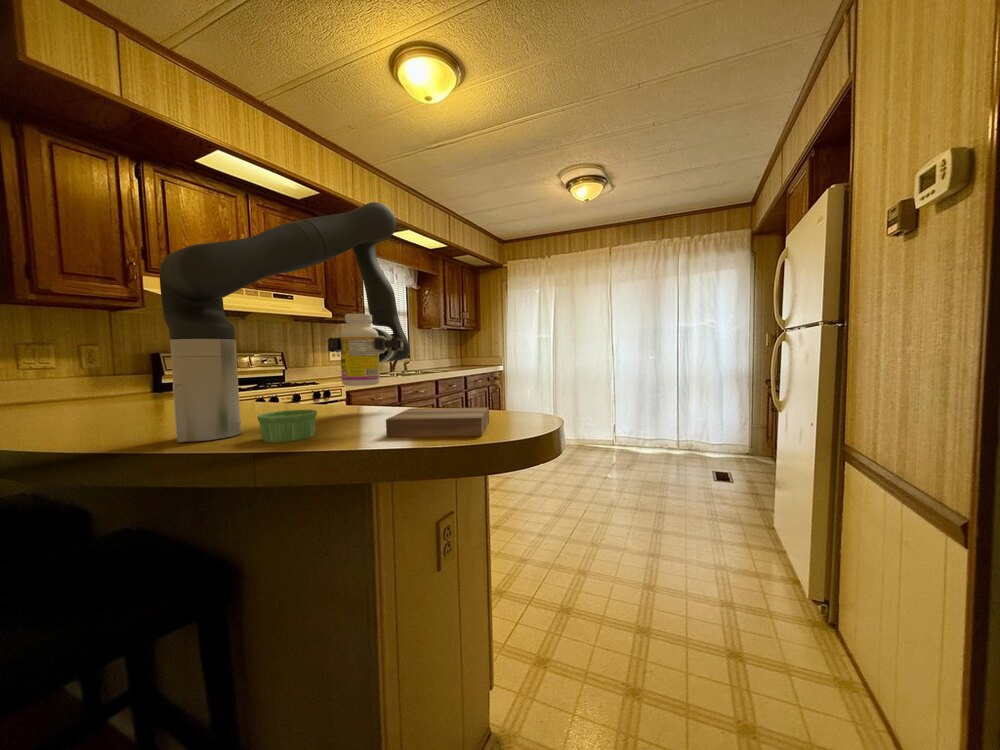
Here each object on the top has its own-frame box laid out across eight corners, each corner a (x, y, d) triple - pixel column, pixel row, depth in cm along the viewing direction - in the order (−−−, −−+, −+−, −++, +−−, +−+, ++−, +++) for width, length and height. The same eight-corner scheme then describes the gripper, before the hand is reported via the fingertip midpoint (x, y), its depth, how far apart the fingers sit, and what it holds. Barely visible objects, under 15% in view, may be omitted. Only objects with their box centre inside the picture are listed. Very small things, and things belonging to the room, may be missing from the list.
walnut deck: (481, 436, 64) (481, 418, 64) (386, 437, 65) (385, 419, 65) (489, 422, 77) (488, 407, 77) (409, 423, 78) (409, 408, 78)
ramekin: (247, 445, 63) (245, 418, 62) (274, 434, 72) (273, 410, 71) (305, 442, 63) (304, 416, 63) (325, 432, 72) (324, 408, 72)
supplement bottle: (345, 384, 75) (343, 316, 74) (381, 383, 76) (379, 316, 76) (338, 386, 69) (335, 312, 68) (377, 385, 70) (375, 313, 69)
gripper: (341, 329, 85) (313, 322, 69) (408, 328, 87) (397, 322, 70) (342, 363, 86) (315, 365, 69) (409, 362, 87) (398, 363, 71)
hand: (356, 343), depth 70 cm, fingers closed on supplement bottle, 6 cm apart
